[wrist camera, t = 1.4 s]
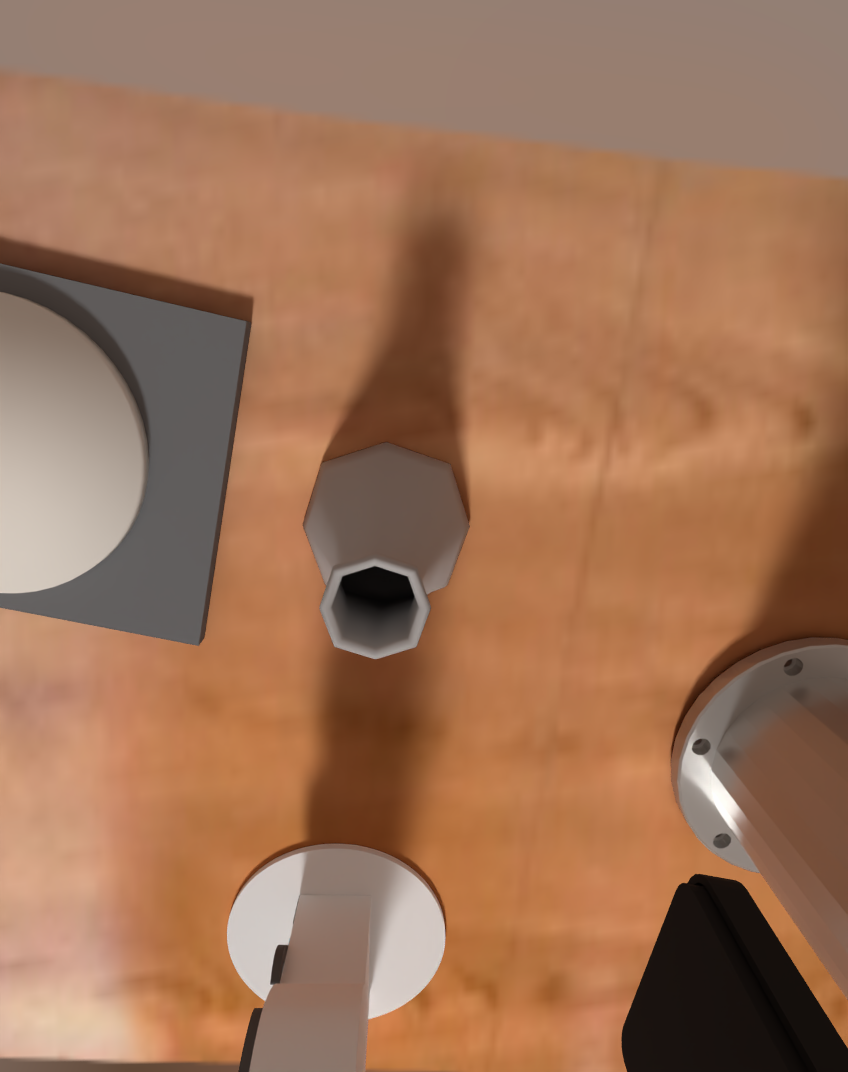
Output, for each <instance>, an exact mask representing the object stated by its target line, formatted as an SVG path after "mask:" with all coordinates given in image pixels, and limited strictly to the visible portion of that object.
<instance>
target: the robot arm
mask: <svg viewBox="0 0 848 1072" xmlns="http://www.w3.org/2000/svg"><path fill="white" fill-rule="evenodd" d="M671 782H672V787H673V791H674V795H675V799H676V802H677V804H678V806H679V808H680V810H681V812H682V814H683V816H684V818H685V820H686V821H687V823H688V824H689V826H690V827H691V829H692V830H693V832H694V833H695V835H696V836H697V838H698V839H699V840H700V841H701V842H702V843H703V844H704V845H705V846H706V847H707V848H708V849H709V850H710V851H711V852H712V853H714V854H715V855H717V856H719V857H720V858H722V859H724V860H725V861H727V862H728V863H730V864H732V865H735V866H738V867H740V868H743V869H746V870H748V871H751V872H756V873H761V875H762V876H763V878H764V879H765V881H766V882H767V883H768V885H769V886H770V888H771V889H772V891H773V892H774V894H775V895H776V897H777V898H778V899H779V901H780V902H781V904H782V905H783V907H784V908H785V910H786V911H787V913H788V914H789V915H790V917H791V918H792V920H793V921H794V923H795V924H796V926H797V927H798V929H799V930H800V931H801V933H802V934H803V936H804V937H805V939H806V940H807V942H808V943H809V945H810V946H811V947H812V949H813V950H814V952H815V953H816V955H817V956H818V958H819V959H820V960H821V962H822V963H823V965H824V966H825V968H826V969H827V971H828V972H829V974H830V975H831V976H832V978H833V979H834V981H835V982H836V984H837V985H838V987H839V988H840V990H841V991H842V992H843V994H844V995H845V997H846V998H847V1000H848V640H845V639H840V638H817V637H811V638H805V639H798V640H792V641H786V642H783V643H780V644H777V645H774V646H771V647H768V648H765V649H762V650H759V651H757V652H756V653H754V654H752V655H750V656H748V657H746V658H744V659H742V660H740V661H738V662H737V663H735V664H734V665H733V666H731V667H730V668H729V669H727V670H726V671H725V672H723V673H722V674H721V675H719V676H718V677H717V678H715V679H714V681H713V682H712V683H711V684H710V685H709V686H708V687H707V688H706V689H705V690H704V691H703V692H702V693H701V694H700V695H699V696H698V698H697V699H696V701H695V702H694V704H693V705H692V707H691V708H690V710H689V711H688V713H687V714H686V716H685V717H684V720H683V722H682V724H681V727H680V729H679V731H678V734H677V736H676V738H675V743H674V748H673V753H672V758H671ZM622 1053H623V1058H624V1062H625V1066H626V1069H627V1072H848V1048H847V1047H846V1045H845V1043H844V1042H843V1040H842V1039H841V1037H840V1036H839V1034H838V1032H837V1031H836V1029H835V1028H834V1026H833V1025H832V1023H831V1021H830V1020H829V1018H828V1017H827V1015H826V1014H825V1012H824V1010H823V1009H822V1007H821V1006H820V1004H819V1003H818V1001H817V999H816V998H815V996H814V995H813V993H812V992H811V990H810V988H809V987H808V985H807V984H806V982H805V981H804V979H803V977H802V976H801V974H800V973H799V971H798V969H797V968H796V966H795V965H794V963H793V962H792V960H791V958H790V957H789V955H788V954H787V952H786V951H785V949H784V947H783V946H782V944H781V943H780V941H779V940H778V938H777V936H776V935H775V933H774V932H773V930H772V929H771V927H770V925H769V924H768V922H767V921H766V919H765V918H764V916H763V914H762V913H761V911H760V910H759V908H758V907H757V905H756V903H755V902H754V900H753V899H752V897H751V896H750V894H749V892H748V891H747V889H746V888H745V887H744V886H743V885H742V884H741V883H740V882H738V881H736V880H730V879H725V878H719V877H713V876H708V875H702V874H695V875H694V876H692V877H691V878H690V880H689V882H688V883H682V884H680V885H679V886H678V888H677V890H676V892H675V894H674V897H673V900H672V902H671V905H670V907H669V910H668V912H667V915H666V918H665V920H664V923H663V925H662V928H661V930H660V933H659V936H658V938H657V941H656V943H655V946H654V948H653V951H652V954H651V956H650V959H649V961H648V964H647V967H646V969H645V972H644V974H643V977H642V979H641V982H640V985H639V987H638V990H637V992H636V995H635V997H634V1000H633V1003H632V1005H631V1008H630V1010H629V1013H628V1015H627V1018H626V1021H625V1023H624V1026H623V1030H622Z"/></svg>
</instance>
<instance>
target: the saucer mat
mask: <svg viewBox="0 0 848 1072" xmlns="http://www.w3.org/2000/svg"><path fill="white" fill-rule="evenodd" d="M250 328H251V322H247V321H243V320H238V319H234V318H230V317H226V316H221V315H217V314H213V313H209V312H204V311H200V310H196V309H192V308H187V307H183V306H179V305H175V304H170V303H166V302H162V301H158V300H153V299H149V298H145V297H140V296H136V295H132V294H128V293H123V292H119V291H115V290H111V289H106V288H102V287H98V286H94V285H89V284H85V283H81V282H77V281H72V280H68V279H64V278H60V277H55V276H51V275H47V274H42V273H38V272H34V271H30V270H25V269H21V268H17V267H13V266H8V265H4V264H0V608H5V609H11V610H16V611H21V612H26V613H31V614H37V615H42V616H47V617H52V618H57V619H62V620H68V621H73V622H78V623H83V624H88V625H94V626H99V627H104V628H109V629H114V630H120V631H125V632H130V633H135V634H140V635H145V636H151V637H156V638H161V639H166V640H171V641H177V642H182V643H187V644H192V645H197V646H199V644H200V643H201V642H202V640H203V639H204V636H205V629H206V622H207V616H208V609H209V602H210V596H211V589H212V582H213V575H214V569H215V562H216V555H217V549H218V542H219V535H220V529H221V522H222V515H223V509H224V502H225V495H226V489H227V482H228V475H229V468H230V462H231V455H232V448H233V442H234V435H235V428H236V422H237V415H238V408H239V402H240V395H241V388H242V382H243V375H244V368H245V362H246V355H247V348H248V341H249V335H250Z"/></svg>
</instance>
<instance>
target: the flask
mask: <svg viewBox="0 0 848 1072" xmlns="http://www.w3.org/2000/svg"><path fill="white" fill-rule="evenodd" d="M469 527H470V526H469V522H468V519H467V516H466V513H465V509H464V506H463V503H462V500H461V497H460V493H459V490H458V487H457V484H456V480H455V477H454V474H453V471H452V467H451V464H449V463H446V462H443V461H440V460H437V459H434V458H431V457H428V456H425V455H423V454H420V453H417V452H414V451H411V450H408V449H405V448H402V447H399V446H396V445H394V444H391V443H388V442H385V443H382V444H378V445H375V446H372V447H369V448H366V449H363V450H360V451H357V452H354V453H351V454H348V455H344V456H341V457H338V458H335V459H332V460H329V461H326V462H323V463H322V464H321V467H320V470H319V473H318V477H317V480H316V483H315V486H314V490H313V493H312V496H311V499H310V503H309V506H308V509H307V512H306V516H305V519H304V522H303V528H304V530H305V533H306V536H307V538H308V541H309V543H310V546H311V549H312V551H313V554H314V557H315V559H316V562H317V564H318V567H319V570H320V572H321V575H322V578H323V580H324V583H325V585H326V589H325V592H324V595H323V598H322V601H321V604H320V608H319V609H320V611H321V614H322V616H323V619H324V621H325V624H326V627H327V629H328V632H329V634H330V637H331V639H332V642H333V645H334V647H337V648H340V649H343V650H346V651H350V652H353V653H356V654H360V655H363V656H366V657H369V658H373V659H378V658H382V657H385V656H388V655H392V654H395V653H398V652H401V651H405V650H408V649H411V648H415V647H416V646H417V644H418V641H419V638H420V636H421V633H422V630H423V628H424V625H425V622H426V620H427V617H428V614H429V612H430V609H431V605H430V603H429V600H428V597H427V594H429V593H431V592H433V591H436V590H438V589H441V588H444V587H445V586H447V585H448V583H449V580H450V577H451V575H452V572H453V569H454V567H455V564H456V561H457V559H458V556H459V554H460V551H461V548H462V546H463V543H464V540H465V538H466V535H467V532H468V530H469Z"/></svg>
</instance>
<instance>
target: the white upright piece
mask: <svg viewBox="0 0 848 1072" xmlns="http://www.w3.org/2000/svg"><path fill="white" fill-rule="evenodd" d="M227 942H228V949H229V953H230V956H231V959H232V962H233V964H234V966H235V968H236V970H237V972H238V973H239V975H240V977H241V978H242V979H243V981H244V982H245V983H246V984H247V986H248V987H249V988H250V989H251V990H252V991H253V992H254V993H255V994H257V995H258V996H259V997H260V998H262V999H263V1000H264V1001H265V1003H264V1006H263V1008H254V1010H253V1012H252V1015H251V1018H250V1022H249V1026H248V1030H247V1034H246V1038H245V1043H244V1047H243V1052H242V1057H241V1062H240V1067H239V1072H365V1063H366V1047H367V1031H368V1019H371V1018H374V1017H378V1016H380V1015H383V1014H386V1013H388V1012H391V1011H393V1010H395V1009H397V1008H399V1007H400V1006H402V1005H404V1004H405V1003H407V1002H408V1001H410V1000H411V999H412V998H414V997H415V996H416V995H417V994H419V993H420V992H421V991H422V990H423V989H424V987H425V986H426V985H427V984H428V983H429V981H430V980H431V979H432V977H433V976H434V974H435V973H436V971H437V969H438V967H439V965H440V962H441V959H442V956H443V952H444V947H445V923H444V916H443V913H442V909H441V906H440V904H439V901H438V899H437V897H436V895H435V894H434V892H433V891H432V889H431V888H430V886H429V885H428V884H427V882H426V881H425V880H424V879H423V878H422V877H421V876H420V875H419V874H418V873H417V872H416V871H415V870H413V869H412V868H411V867H409V866H408V865H407V864H405V863H403V862H402V861H400V860H399V859H397V858H395V857H393V856H391V855H389V854H386V853H384V852H381V851H379V850H375V849H372V848H368V847H364V846H359V845H351V844H320V845H313V846H308V847H303V848H300V849H297V850H293V851H291V852H288V853H286V854H283V855H281V856H279V857H277V858H275V859H274V860H272V861H270V862H269V863H267V864H266V865H264V866H263V867H262V868H260V869H259V870H258V871H257V872H256V873H255V874H253V875H252V876H251V877H250V879H249V880H248V881H247V882H246V883H245V884H244V886H243V887H242V889H241V890H240V892H239V894H238V896H237V897H236V899H235V902H234V904H233V907H232V910H231V913H230V917H229V921H228V928H227Z"/></svg>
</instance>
